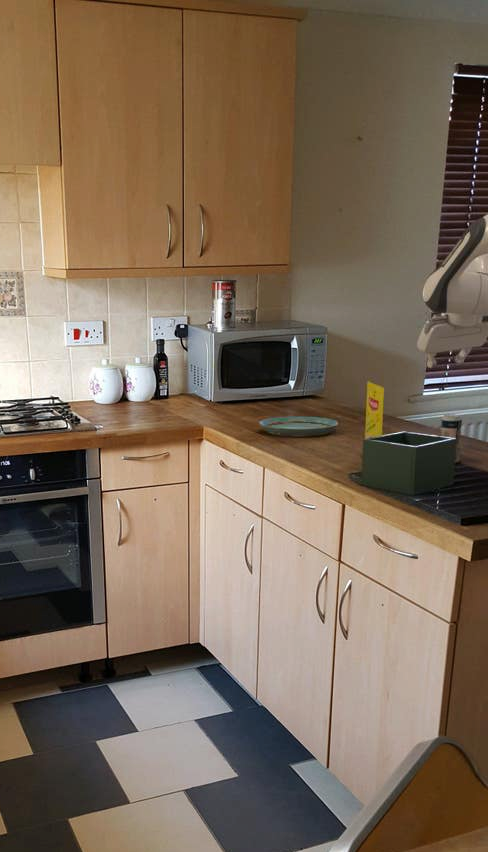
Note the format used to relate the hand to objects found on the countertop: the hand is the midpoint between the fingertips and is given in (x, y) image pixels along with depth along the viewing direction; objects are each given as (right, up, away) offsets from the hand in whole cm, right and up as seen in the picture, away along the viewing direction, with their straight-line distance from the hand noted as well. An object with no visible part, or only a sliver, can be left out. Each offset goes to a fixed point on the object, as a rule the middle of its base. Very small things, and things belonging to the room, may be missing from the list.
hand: (444, 364), depth 227 cm
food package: (-19, -26, -1) cm, 32 cm away
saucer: (-31, -10, +47) cm, 57 cm away
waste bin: (-17, -34, -26) cm, 47 cm away
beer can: (0, -26, -3) cm, 26 cm away
